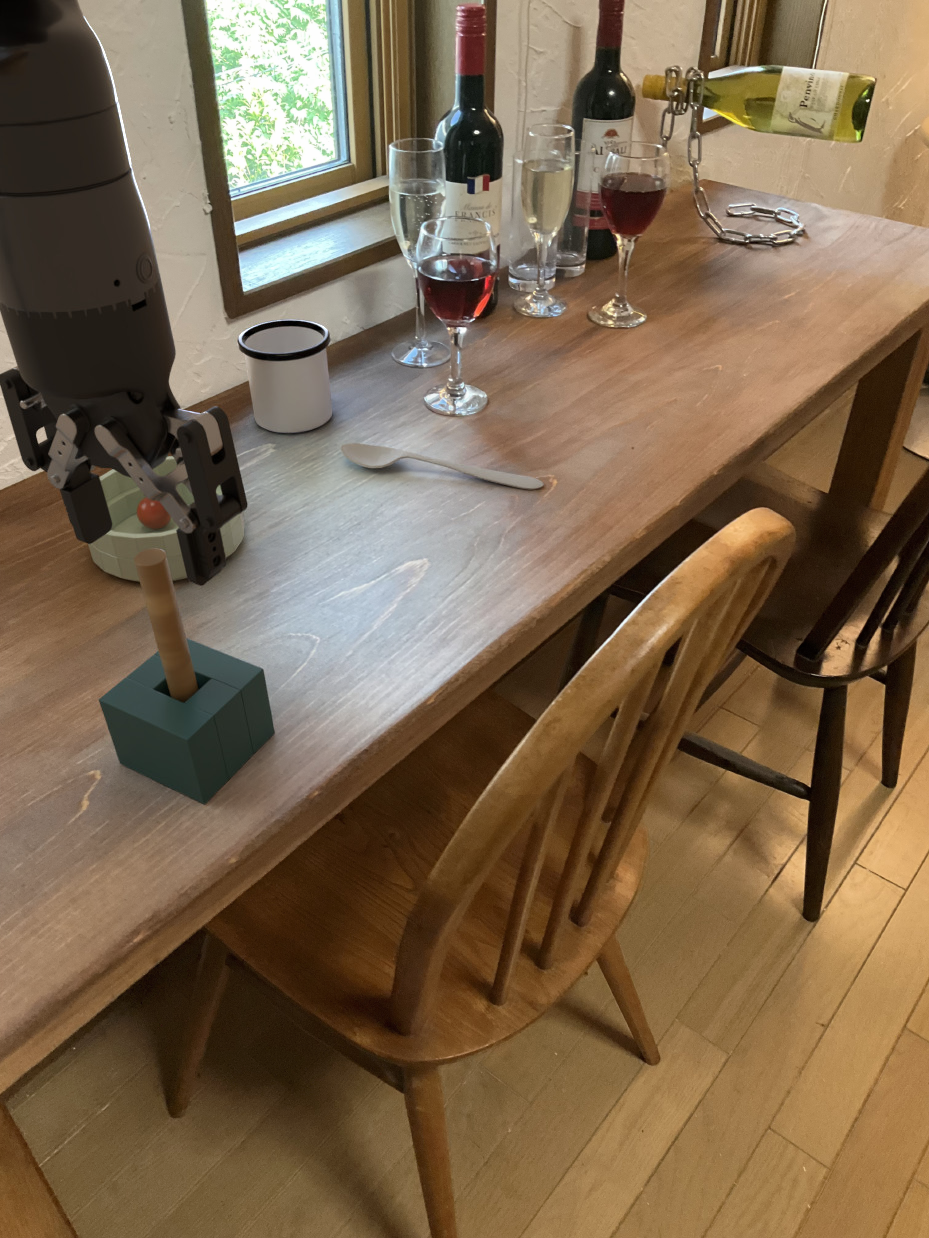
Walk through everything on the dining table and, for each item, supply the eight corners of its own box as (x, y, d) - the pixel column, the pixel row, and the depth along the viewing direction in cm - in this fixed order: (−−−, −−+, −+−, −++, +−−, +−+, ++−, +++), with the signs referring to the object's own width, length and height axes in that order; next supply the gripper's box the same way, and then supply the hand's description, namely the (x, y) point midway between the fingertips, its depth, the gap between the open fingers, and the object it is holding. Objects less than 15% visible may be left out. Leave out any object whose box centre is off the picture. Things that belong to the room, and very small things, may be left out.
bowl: (175, 604, 78) (163, 554, 75) (59, 559, 83) (43, 510, 80) (275, 526, 87) (268, 478, 84) (165, 489, 92) (154, 443, 89)
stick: (200, 761, 65) (150, 569, 55) (179, 751, 65) (127, 560, 55) (217, 744, 66) (172, 553, 56) (197, 735, 67) (149, 545, 57)
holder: (204, 805, 62) (187, 740, 58) (119, 763, 65) (98, 699, 61) (275, 732, 67) (263, 668, 63) (193, 697, 70) (178, 633, 66)
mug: (310, 444, 99) (300, 361, 93) (232, 428, 102) (218, 346, 96) (363, 396, 108) (357, 317, 102) (290, 382, 110) (280, 305, 105)
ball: (158, 539, 84) (151, 510, 83) (133, 530, 86) (125, 501, 84) (182, 522, 87) (175, 494, 85) (157, 514, 88) (150, 485, 86)
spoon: (349, 449, 98) (347, 435, 97) (547, 475, 94) (548, 461, 93) (334, 469, 95) (332, 454, 94) (538, 497, 91) (539, 482, 90)
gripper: (-91, 276, 46) (12, 555, 56) (132, 331, 40) (201, 629, 50) (33, 232, 51) (107, 495, 61) (246, 275, 45) (288, 557, 55)
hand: (150, 556), depth 56 cm, fingers open, 8 cm apart
